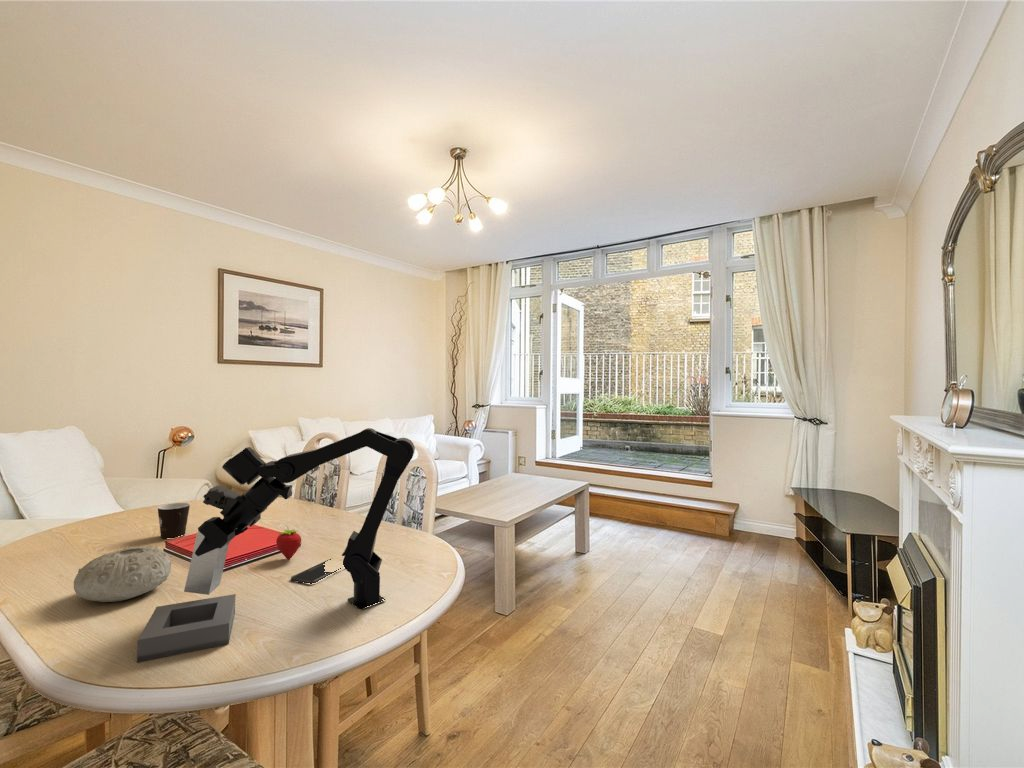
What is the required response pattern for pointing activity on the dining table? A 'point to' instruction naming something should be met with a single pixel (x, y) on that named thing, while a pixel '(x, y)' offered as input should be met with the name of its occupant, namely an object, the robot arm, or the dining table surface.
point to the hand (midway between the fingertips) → (202, 550)
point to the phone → (312, 574)
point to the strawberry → (288, 542)
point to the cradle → (187, 627)
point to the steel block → (205, 569)
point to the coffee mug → (173, 519)
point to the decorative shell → (122, 574)
